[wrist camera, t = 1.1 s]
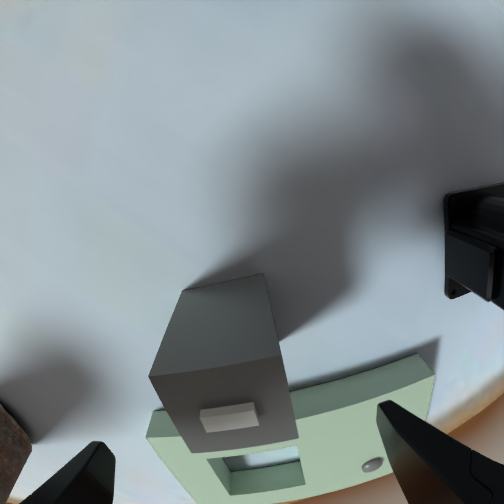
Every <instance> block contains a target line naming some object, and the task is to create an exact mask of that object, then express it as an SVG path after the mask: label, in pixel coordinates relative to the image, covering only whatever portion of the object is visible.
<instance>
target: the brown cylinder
mask: <svg viewBox="0 0 504 504" xmlns="http://www.w3.org/2000/svg"><path fill="white" fill-rule="evenodd" d="M31 451H32V445H31V441H30V439H29V436H28V435H27V434H26V432H24V431H23V429H22V428H21V427H20V426H19V425H18V424H17V423H16V421H15V420H14V418H13V417H12V416H10V415H9V414H8V413H7V412H6V411H5V410H4V408H3V407H2V405H1V404H0V504H5V503H6V501H7V499H8V497H9V495H10V493H11V491H12V489H13V487H14V485H15V483H16V481H17V479H18V477H19V475H20V473H21V471H22V469H23V467H24V465H25V463H26V461H27V459H28V457H29V455H30V453H31Z"/></svg>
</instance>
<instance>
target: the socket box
mask: <svg viewBox="0 0 504 504" xmlns="http://www.w3.org/2000/svg"><path fill="white" fill-rule="evenodd" d="M434 378H435V374H434V373H433V371H432V370H431V369H430V368H429V367H428V365H427V364H426V363H425V362H424V361H423V359H422V358H421V357H420V356H419V355H418V353H417V354H414V355H412V356H409V357H407V358H404V359H401V360H398V361H396V362H393V363H390V364H387V365H384V366H381V367H378V368H375V369H372V370H369V371H366V372H362V373H359V374H356V375H353V376H349V377H346V378H342V379H339V380H335V381H332V382H328V383H324V384H320V385H316V386H312V387H308V388H304V389H300V390H296V391H291V392H290V397H291V402H292V406H293V411H294V416H295V420H296V425H297V430H298V435H299V438H298V439H294V440H289V441H284V442H279V443H273V444H268V445H262V446H256V447H249V448H242V449H234V450H226V451H216V452H205V453H191V452H190V450H189V449H188V447H187V445H186V444H185V442H184V440H183V439H182V437H181V435H180V434H179V432H178V430H177V429H176V427H175V425H174V424H173V422H172V420H171V418H170V416H169V415H168V413H167V411H166V410H165V411H153V413H152V417H151V420H150V424H149V427H148V431H147V434H146V439H147V441H148V442H149V443H150V445H151V446H152V448H153V449H154V450H155V452H156V453H157V455H158V456H159V457H160V459H161V460H162V461H163V463H164V464H165V465H166V467H167V468H168V469H169V470H170V472H171V473H172V474H173V476H174V477H175V478H176V479H177V480H178V482H179V483H180V484H181V485H182V487H183V488H184V489H185V490H186V491H187V492H188V494H189V495H190V496H191V497H192V498H193V499H194V501H195V502H196V503H197V504H274V503H280V502H286V501H292V500H297V499H302V498H307V497H311V496H316V495H320V494H324V493H328V492H332V491H336V490H340V489H343V488H347V487H350V486H354V485H357V484H360V483H363V482H366V481H369V480H372V479H375V478H378V477H381V476H384V475H387V474H389V473H392V472H393V470H392V468H391V465H390V463H389V460H388V457H387V454H386V451H385V448H384V445H383V442H382V439H381V436H380V433H379V430H378V427H377V423H376V415H377V405H378V403H380V402H383V401H386V400H392V401H394V402H395V403H397V404H398V405H400V406H402V407H403V408H405V409H406V410H408V411H410V412H411V413H413V414H414V415H416V416H418V417H419V418H421V419H422V420H424V421H425V420H426V416H427V412H428V407H429V403H430V398H431V393H432V388H433V383H434ZM292 446H297V448H298V452H299V457H300V461H298V462H293V463H288V464H282V465H277V466H271V467H265V468H258V469H251V470H243V471H235V472H230V471H229V469H228V468H227V466H226V464H225V462H224V460H223V459H222V457H230V456H238V455H246V454H253V453H259V452H265V451H271V450H277V449H282V448H287V447H292Z"/></svg>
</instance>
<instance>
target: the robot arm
mask: <svg viewBox="0 0 504 504" xmlns="http://www.w3.org/2000/svg"><path fill="white" fill-rule="evenodd" d="M451 199H452V200H453V203H452V205H451ZM443 205H444V221H445V291H444V292H445V295H446V296H447V297H448V298H449V299H454V298H457V297H460V296H462V295H465V294H467V293H469V292H473V293H475V294H476V295H478V296H479V297H481V298H482V299H484V300H485V301H487V302H489V301H491V302H492V303H494V304H495V305H497V306H498V307H500V308H501V309H503V310H504V183H498V184H493V185H487V186H482V187H477V188H471V189H466V190H460V191H455V192H450V193H447V194H446V195H445V197H444V200H443ZM452 289H453V291H452ZM451 291H452V292H451ZM376 423H377V427H378V430H379V433H380V436H381V439H382V442H383V445H384V448H385V451H386V454H387V457H388V460H389V463H390V465H391V468H392V470H393V472H394V474H395V476H396V478H397V480H398V483H399V485H400V487H401V489H402V491H403V493H404V495H405V497H406V499H407V502H408V504H504V465H503V464H500V463H498V462H495V461H493V460H491V459H489V458H487V457H485V456H484V455H482V454H480V453H478V452H476V451H474V450H472V451H471V448H469V447H467V446H466V445H464V444H462V443H461V442H459V441H457V440H455V439H454V438H452V437H450V436H449V435H447V434H445V433H444V432H442V431H440V430H439V429H437V428H435V427H434V426H432V425H431V424H429V423H427V422H426V421H424V420H422V419H421V418H419V417H418V416H416V415H414V414H413V413H411V412H410V411H408V410H406V409H405V408H403V407H402V406H400V405H398V404H397V403H395V402H394V401H392V400H386V401H383V402H380V403H378V405H377V415H376ZM115 463H116V460H115V456H114V454H113V453H112V452H111V451H110V449H109V448H108V447H107V446H106V444H105V443H104V442H101V441H92V442H91V443H90V444H88V445H87V446H86V447H85V448H84V449H83V450H82V451H81V452H79V453H78V454H77V455H76V456H75V457H74V458H73V459H71V460H70V461H69V462H68V463H67V464H66V465H65V466H63V467H62V468H61V469H60V470H59V471H58V472H57V473H55V474H54V475H53V476H52V477H51V478H50V479H48V480H47V481H46V482H45V483H44V484H42V485H41V486H40V487H39V488H38V489H37V490H35V491H34V492H33V493H32V495H29V496H28V497H27V498H26V499H25V500H23V501H22V502H21V503H19V504H112V503H113V496H114V479H115Z"/></svg>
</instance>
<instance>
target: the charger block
mask: <svg viewBox="0 0 504 504" xmlns="http://www.w3.org/2000/svg"><path fill="white" fill-rule="evenodd" d="M148 377H149V379H150V381H151V383H152V385H153V387H154V389H155V391H156V392H157V394H158V396H159V398H160V400H161V402H162V404H163V406H164V407H165V409H166V411H167V413H168V415H169V416H170V418H171V420H172V422H173V424H174V425H175V427H176V429H177V430H178V432H179V434H180V435H181V437H182V439H183V440H184V442H185V444H186V445H187V447H188V449H189V450H190V452H191V453H205V452H216V451H226V450H234V449H242V448H249V447H256V446H262V445H268V444H273V443H279V442H284V441H289V440H294V439H298V438H299V435H298V430H297V425H296V420H295V416H294V411H293V406H292V402H291V397H290V392H289V387H288V383H287V378H286V373H285V369H284V364H283V359H282V355H281V350H280V346H279V341H278V337H277V332H276V328H275V324H274V319H273V315H272V310H271V306H270V302H269V297H268V293H267V288H266V284H265V280H264V275H263V273H262V274H258V275H253V276H249V277H244V278H240V279H235V280H230V281H226V282H221V283H216V284H212V285H207V286H202V287H198V288H193V289H188V290H183V291H182V293H181V295H180V297H179V300H178V302H177V305H176V307H175V310H174V312H173V315H172V317H171V319H170V322H169V324H168V327H167V329H166V332H165V335H164V337H163V340H162V342H161V345H160V347H159V350H158V352H157V355H156V358H155V360H154V363H153V365H152V368H151V371H150V373H149V376H148Z"/></svg>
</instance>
